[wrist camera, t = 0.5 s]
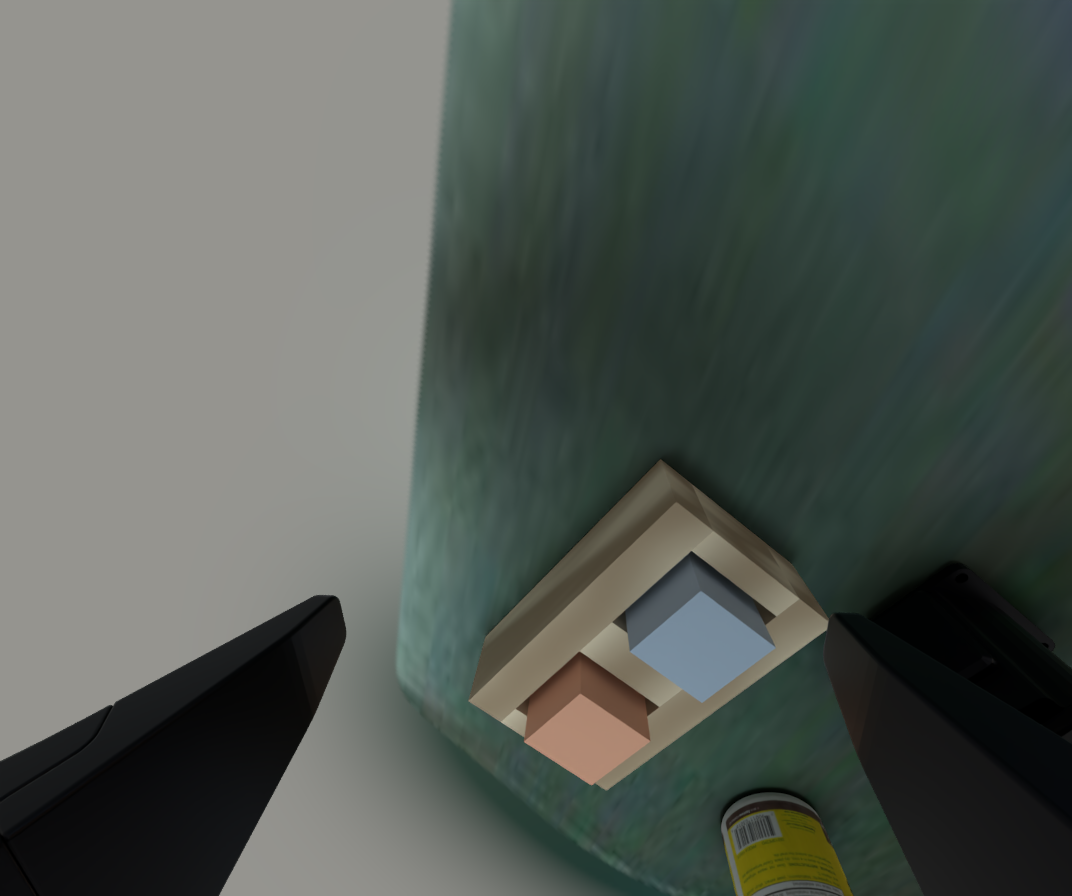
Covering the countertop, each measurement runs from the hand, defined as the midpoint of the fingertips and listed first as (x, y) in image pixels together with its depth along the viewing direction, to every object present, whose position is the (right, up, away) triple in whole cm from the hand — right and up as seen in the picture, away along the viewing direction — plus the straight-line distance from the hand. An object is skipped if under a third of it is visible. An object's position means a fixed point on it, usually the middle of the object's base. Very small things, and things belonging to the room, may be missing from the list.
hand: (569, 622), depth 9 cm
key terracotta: (+2, -8, +13) cm, 15 cm away
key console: (+4, -4, +15) cm, 16 cm away
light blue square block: (+6, -3, +11) cm, 13 cm away
